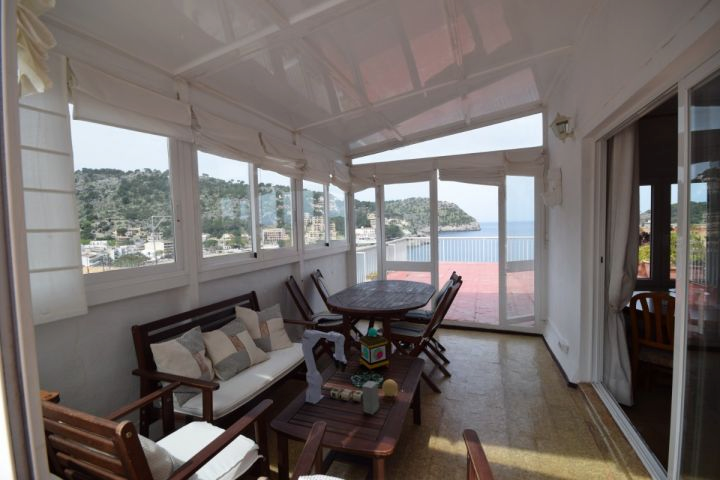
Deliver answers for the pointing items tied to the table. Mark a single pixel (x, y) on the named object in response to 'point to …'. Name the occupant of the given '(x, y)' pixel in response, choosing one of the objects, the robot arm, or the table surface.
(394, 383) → the stress ball
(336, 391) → the marked block
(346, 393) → the plain block
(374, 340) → the decorative lantern
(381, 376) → the table surface
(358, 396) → the marked block
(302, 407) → the table surface
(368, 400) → the skincare box
